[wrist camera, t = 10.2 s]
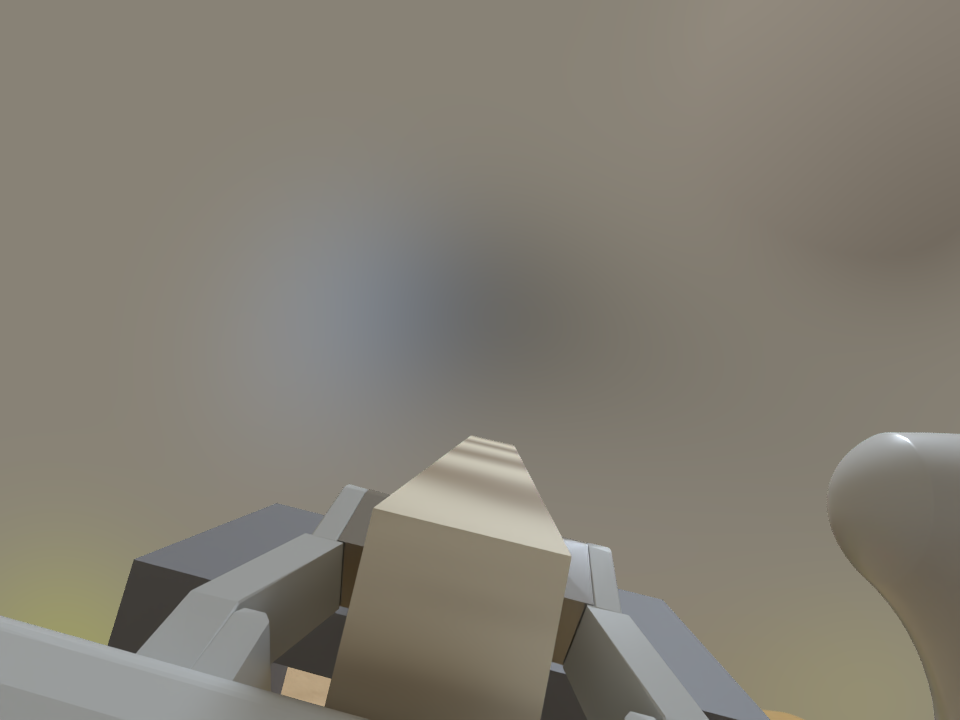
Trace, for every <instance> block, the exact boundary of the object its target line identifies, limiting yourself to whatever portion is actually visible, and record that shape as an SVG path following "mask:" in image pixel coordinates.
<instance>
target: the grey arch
mask: <svg viewBox="0 0 960 720" xmlns="http://www.w3.org/2000/svg"><path fill="white" fill-rule="evenodd" d="M324 516H325V515H321V514H317V513H313V512H309V511H305V510H301V509H297V508H293V507H289V506H285V505H281V504H277V503H276V504H274V505H271V506H269V507H266V508H264V509H261V510H258V511H256V512H253V513H251V514H248V515H246V516H243V517H241V518H238V519H236V520H233V521H230V522H228V523H225V524H223V525H220V526H218V527H216V528H213V529H210V530H208V531H205V532H203V533H200V534H197V535H195V536H192V537H190V538H188V539H185V540H182V541H180V542H177V543H175V544H172V545H169V546H167V547H164V548H162V549H159V550H157V551H154V552H152V553H149V554H147V555H144V556H141V557H139V558H136V559H134V561H133V564H132V568H131V571H130V574H129V578H128V581H127V584H126V587H125V591H124V594H123V597H122V601H121V604H120V607H119V610H118V614H117V617H116V620H115V623H114V627H113V630H112V633H111V636H110V640H109V643H108V646H110V647H114V648H117V649H121V650H124V651H128V652H131V653H135V654H136V653H137V651H138V650H139V649H140V648H141V647H142V646H143V645H144V644H145V642H146V641H147V640H148V639H149V638H150V637H151V636H152V634H153V633H154V632H155V631H156V630H157V629H158V628H159V626H160V625H161V624H162V623H163V622H164V621H165V620H166V618H167V617H168V616H169V615H170V614H171V613H172V612H173V611H174V609H175V608H176V607H177V606H178V605H179V604H180V603H181V601H182V600H183V599H184V598H185V597H186V596H187V595H188V593H189V592H190V591H191V590H193V589H195V588H197V587H199V586H201V585H203V584H205V583H207V582H209V581H211V580H213V579H215V578H217V577H219V576H221V575H223V574H225V573H227V572H229V571H231V570H233V569H235V568H237V567H239V566H241V565H243V564H245V563H247V562H249V561H251V560H253V559H255V558H257V557H259V556H261V555H263V554H265V553H267V552H269V551H271V550H273V549H275V548H277V547H279V546H281V545H283V544H285V543H287V542H289V541H291V540H293V539H295V538H297V537H299V536H301V535H303V534H305V533H307V534H311V535H312V533H313V532H314V530H315V529H316V528H317V526H318V525H319V523H320V522H321V520H322V519H323V517H324ZM618 593H619V599H620V605H621V611H622V614H626V615H629V616H630V617H631V619H632V620H633V621H634V623H635V624H636V625H637V626H638V628H639V629H640V630H641V632H642V633H643V634H644V636H645V637H646V638H647V639H648V641H649V642H650V643H651V645H652V646H653V647H654V649H655V650H656V651H657V652H658V654H659V655H660V656H661V658H662V659H663V660H664V662H665V663H666V664H667V666H668V667H669V668H670V669H671V671H672V672H673V673H674V675H675V676H676V677H677V679H678V680H679V681H680V682H681V684H682V685H683V686H684V688H685V689H686V690H687V692H688V693H689V694H690V695H691V697H692V698H693V699H694V701H695V702H696V703H697V705H698V706H699V707H700V709H701V710H702V711H703V712H704V714H705V715H706V716H707V718H708V719H709V720H770V719H769V718H768V717H767V716H766V715H765V713H764V712H763V711H762V710H761V709H760V708H759V707H758V706H757V705H756V703H755V702H754V701H753V700H752V699H751V698H750V697H749V696H748V694H747V693H746V692H745V691H744V690H743V689H742V688H741V687H740V686H739V685H738V683H737V682H736V681H735V680H734V679H733V678H732V677H731V676H730V674H728V672H727V671H726V670H725V669H724V668H723V667H722V666H721V664H720V663H718V661H717V660H716V659H715V658H714V657H713V656H712V654H711V653H710V652H709V651H708V650H707V649H706V648H705V647H704V645H703V644H702V643H701V642H700V641H699V640H698V639H697V638H696V637H695V635H694V634H693V633H692V632H691V631H690V630H689V629H688V628H687V627H686V626H685V624H684V623H683V622H682V621H681V620H680V619H679V618H678V617H677V615H676V614H675V613H674V612H673V611H672V610H671V609H670V608H669V606H668V605H667V604H666V603H665V602H664V601H663V600H661V599H657V598H653V597H649V596H645V595H641V594H637V593H633V592H629V591H625V590H621V589H618ZM348 609H349V608H345V607H341V606H339V609H338V610H337V611H336V612H335V613H333V614H332V615H331V616H330V617H328V618H327V619H326V620H325V621H323V622H322V623H321V624H320V625H318V626H317V627H316V628H315V629H314V630H312V631H311V632H310V633H309V634H307V635H306V636H305V637H304V638H302V639H301V640H300V641H299V642H297V643H296V644H295V645H294V646H292V647H291V648H290V649H289V650H287V651H286V652H285V653H284V654H283V655H281V656H280V657H279V658H278V659H276V660H275V661H274V662H273V663H271V664H270V668H271V692H273V693H277V694H281V691H282V687H283V683H284V679H285V675H286V671H287V667H291V668H295V669H298V670H302V671H306V672H309V673H313V674H316V675H320V676H324V677H327V678H331V679H332V675H333V671H334V667H335V663H336V658H337V654H338V650H339V646H340V642H341V638H342V634H343V630H344V626H345V622H346V617H347V613H348ZM540 720H587V718H586V716H585V714H584V712H583V710H582V708H581V705H580V703H579V701H578V699H577V697H576V695H575V693H574V691H573V688H572V686H571V684H570V682H569V680H568V678H567V676H566V673H565V671H564V669H563V665H561V664H557V663H554V662H551V667H550V672H549V677H548V683H547V688H546V693H545V698H544V704H543V709H542V714H541V719H540Z"/></svg>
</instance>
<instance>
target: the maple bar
mask: <svg viewBox="0 0 960 720" xmlns="http://www.w3.org/2000/svg"><path fill="white" fill-rule="evenodd" d="M571 558H572V556H571V554H570V552H569V550H568V548H567V546H566V545H565V543H564V541H563V539H562V537H561V535H560V533H559V531H558V529H557V527H556V525H555V523H554V521H553V519H552V518H551V516H550V514H549V512H548V510H547V508H546V506H545V504H544V502H543V500H542V498H541V496H540V495H539V492H538V491H537V489H536V487H535V485H534V483H533V481H532V479H531V477H530V475H529V473H528V471H527V469H526V468H525V466H524V464H523V462H522V460H521V458H520V456H519V454H518V452H517V450H516V448H515V446H514V445H511V444H506V443H502V442H497V441H493V440H489V439H484V438H480V437H476V436H470V437H468V438H467V439H466V440H464V441H463V442H462V443H460V444H459V445H458V446H456V447H455V448H454V449H452V450H451V451H450V452H448V453H447V454H445V455H444V456H443V457H441V458H440V459H439V460H437V461H436V462H435V463H433V464H432V465H431V466H429V467H428V468H427V469H425V470H424V471H423V472H421V473H420V474H418V475H417V476H416V477H414V478H413V479H412V480H410V481H409V482H408V483H406V484H405V485H404V486H402V487H401V488H400V489H398V490H397V491H396V492H394V493H393V494H391V495H390V496H389V497H387V498H386V499H385V500H383V501H382V502H381V503H379V504H378V505H376V506H375V507H374V508H373V511H372V515H371V519H370V523H369V527H368V531H367V536H366V540H365V544H364V548H363V552H362V556H361V560H360V564H359V568H358V572H357V577H356V581H355V585H354V589H353V593H352V597H351V601H350V605H349V609H348V613H347V617H346V622H345V626H344V630H343V634H342V638H341V642H340V646H339V650H338V654H337V658H336V663H335V667H334V671H333V675H332V679H331V683H330V687H329V691H328V695H327V699H326V704H325V707H327V708H330V709H334V710H337V711H341V712H344V713H348V714H352V715H355V716H359V717H362V718H366V719H369V720H540V719H541V714H542V709H543V704H544V698H545V693H546V688H547V683H548V677H549V672H550V667H551V662H552V657H553V651H554V646H555V641H556V636H557V631H558V625H559V620H560V615H561V610H562V605H563V599H564V594H565V589H566V584H567V578H568V573H569V568H570V563H571Z"/></svg>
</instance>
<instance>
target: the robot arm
mask: <svg viewBox="0 0 960 720" xmlns="http://www.w3.org/2000/svg"><path fill="white" fill-rule="evenodd" d="M389 496H390V495H389V494H385V493H381V492H378V491H374V490H370V489H369V490H368V489H364V488H361V487H357V486H354V485H350V484H348V485H347V486H345V487H344V488H343V489H342V490H341V492H340V493H339V495H338V496H337V498H336V500H335V501H334V502H333V504H332V505H331V507H330V508H329V510H328V511H327V513H326V514H325V516H324V517H323V519H322V520H321V522H320V523H319V525H318V526H317V528H316V529H315V530H314V532H313V533H312V535H311V534H307V533H305V534H303V535H301V536H299V537H297V538H295V539H293V540H291V541H289V542H287V543H285V544H283V545H281V546H279V547H277V548H275V549H273V550H271V551H269V552H267V553H265V554H263V555H261V556H259V557H257V558H255V559H253V560H251V561H249V562H247V563H245V564H243V565H241V566H239V567H237V568H235V569H233V570H231V571H229V572H227V573H225V574H223V575H221V576H219V577H217V578H215V579H213V580H211V581H209V582H207V583H205V584H203V585H201V586H199V587H197V588H195V589H193V590H191V591H190V592H189V593H188V595H187V596H186V597H185V598H184V599H183V600H182V601H181V603H180V604H179V605H178V606H177V607H176V608H175V609H174V611H173V612H172V613H171V614H170V615H169V616H168V617H167V618H166V620H165V621H164V622H163V623H162V624H161V625H160V626H159V628H158V629H157V630H156V631H155V632H154V633H153V634H152V636H151V637H150V638H149V639H148V640H147V641H146V642H145V644H144V645H143V646H142V647H141V648H140V649H139V650H138V651H137V653H136V654H135V653H131V652H128V651H124V650H121V649H117V648H114V647H110V646H106V645H103V644H99V643H96V642H92V641H89V640H85V639H82V638H78V637H75V636H71V635H67V634H64V633H60V632H57V631H53V630H50V629H46V628H42V627H39V626H36V625H32V624H29V623H25V622H21V621H18V620H14V619H11V618H7V617H4V616H0V720H369V719H366V718H362V717H359V716H355V715H352V714H348V713H344V712H341V711H337V710H334V709H330V708H327V707H323V706H320V705H316V704H312V703H309V702H305V701H302V700H298V699H295V698H291V697H288V696H284V695H280V694H277V693H273V692H271V668H270V664H271V663H273V662H274V661H275V660H276V659H278V658H279V657H280V656H281V655H283V654H284V653H285V652H286V651H287V650H289V649H290V648H291V647H292V646H294V645H295V644H296V643H297V642H299V641H300V640H301V639H302V638H304V637H305V636H306V635H307V634H309V633H310V632H311V631H312V630H314V629H315V628H316V627H317V626H318V625H320V624H321V623H322V622H323V621H325V620H326V619H327V618H328V617H330V616H331V615H332V614H333V613H335V612H336V611H337V610H338V609H339V606H341V607H345V608H349V605H350V601H351V597H352V593H353V589H354V585H355V581H356V577H357V572H358V568H359V564H360V560H361V556H362V552H363V548H364V544H365V540H366V536H367V531H368V527H369V523H370V519H371V515H372V511H373V508H374V507H375V506H376V505H378V504H379V503H381V502H382V501H383V500H385V499H386V498H387V497H389ZM827 511H828V517H829V522H830V526H831V529H832V532H833V534H834V536H835V539H836V540H837V543H838V545H839V546H840V548H841V550H842V551H843V553H844V554H845V556H846V557H847V559H848V560H849V561H850V563H851V564H852V565H853V567H854V568H855V569H856V570H857V571H858V572H859V573H860V574H861V575H862V576H863V577H864V578H865V579H866V580H867V581H868V582H869V583H870V584H871V585H872V586H873V587H874V588H875V589H876V590H877V591H878V592H879V593H880V594H881V595H882V597H883V598H884V599H885V600H886V601H887V602H888V604H889V605H890V606H891V608H892V609H893V610H894V612H895V613H896V615H897V616H898V617H899V619H900V620H901V622H902V624H903V626H904V627H905V629H906V631H907V632H908V634H909V636H910V638H911V640H912V642H913V644H914V646H915V648H916V650H917V652H918V655H919V657H920V660H921V662H922V665H923V668H924V671H925V674H926V677H927V680H928V683H929V687H930V692H931V696H932V701H933V708H934V718H935V720H960V434H946V433H904V432H900V433H899V432H891V433H890V432H887V433H880V434H876V435H874V436H872V437H870V438H868V439H866V440H865V441H863V442H861V443H860V444H858V445H857V446H856V447H854V448H853V449H852V450H851V451H850V452H849V453H848V454H847V455H846V456H845V457H844V458H843V459H842V460H841V462H840V463H839V465H838V466H837V468H836V470H835V471H834V473H833V475H832V478H831V480H830V483H829V488H828V494H827ZM562 539H563V541H564V543H565V545H566V546H567V548H568V550H569V552H570V554H571V556H572V558H571V563H570V568H569V573H568V578H567V584H566V589H565V594H564V599H563V605H562V610H561V615H560V620H559V625H558V631H557V636H556V641H555V646H554V651H553V657H552V662H554V663H557V664H561V665H563V669H564V671H565V673H566V676H567V678H568V680H569V682H570V684H571V686H572V688H573V691H574V693H575V695H576V697H577V699H578V701H579V703H580V705H581V708H582V710H583V712H584V714H585V716H586V718H587V720H709V719H708V718H707V716H706V715H705V714H704V712H703V711H702V710H701V709H700V707H699V706H698V705H697V703H696V702H695V701H694V699H693V698H692V697H691V695H690V694H689V693H688V692H687V690H686V689H685V688H684V686H683V685H682V684H681V682H680V681H679V680H678V679H677V677H676V676H675V675H674V673H673V672H672V671H671V669H670V668H669V667H668V666H667V664H666V663H665V662H664V660H663V659H662V658H661V656H660V655H659V654H658V652H657V651H656V650H655V649H654V647H653V646H652V645H651V643H650V642H649V641H648V639H647V638H646V637H645V636H644V634H643V633H642V632H641V630H640V629H639V628H638V626H637V625H636V624H635V623H634V621H633V620H632V619H631V617H630V616H629V615H626V614H622V611H621V605H620V599H619V593H618V587H617V582H616V576H615V570H614V564H613V558H612V552H611V550H610V549H609V548H608V547H604V546H600V545H595V544H590V543H585V542H581V541H577V540H572V539H568V538H564V537H562Z"/></svg>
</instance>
